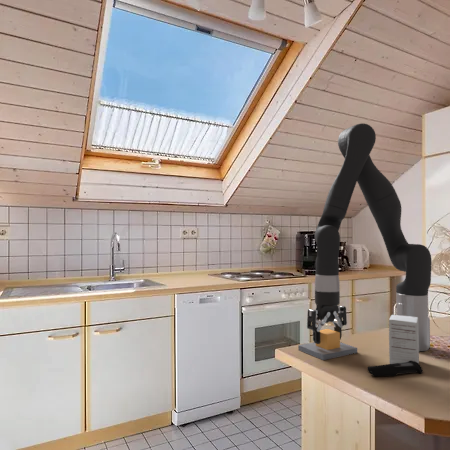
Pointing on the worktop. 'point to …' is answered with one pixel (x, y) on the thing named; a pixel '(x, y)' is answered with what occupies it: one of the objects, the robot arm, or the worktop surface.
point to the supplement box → (403, 339)
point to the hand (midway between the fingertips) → (327, 341)
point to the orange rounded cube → (329, 339)
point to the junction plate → (327, 354)
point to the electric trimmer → (395, 369)
